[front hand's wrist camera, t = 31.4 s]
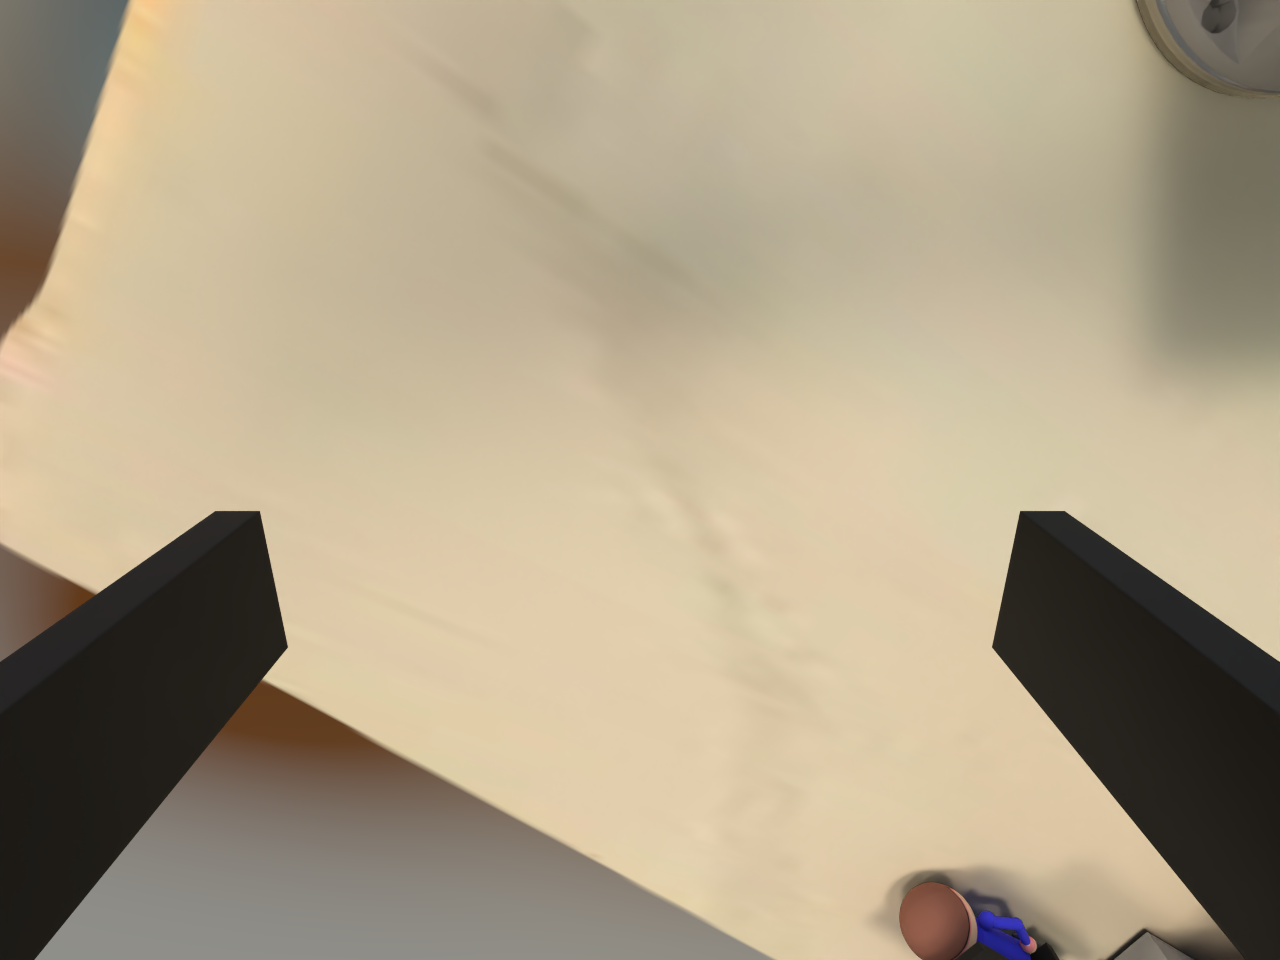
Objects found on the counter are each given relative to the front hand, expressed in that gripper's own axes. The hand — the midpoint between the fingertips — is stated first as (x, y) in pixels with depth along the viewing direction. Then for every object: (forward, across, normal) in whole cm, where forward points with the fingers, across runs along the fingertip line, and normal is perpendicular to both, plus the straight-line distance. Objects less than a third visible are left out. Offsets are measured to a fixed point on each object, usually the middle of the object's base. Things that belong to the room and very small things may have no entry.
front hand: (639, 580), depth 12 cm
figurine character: (+26, -25, +43) cm, 56 cm away
